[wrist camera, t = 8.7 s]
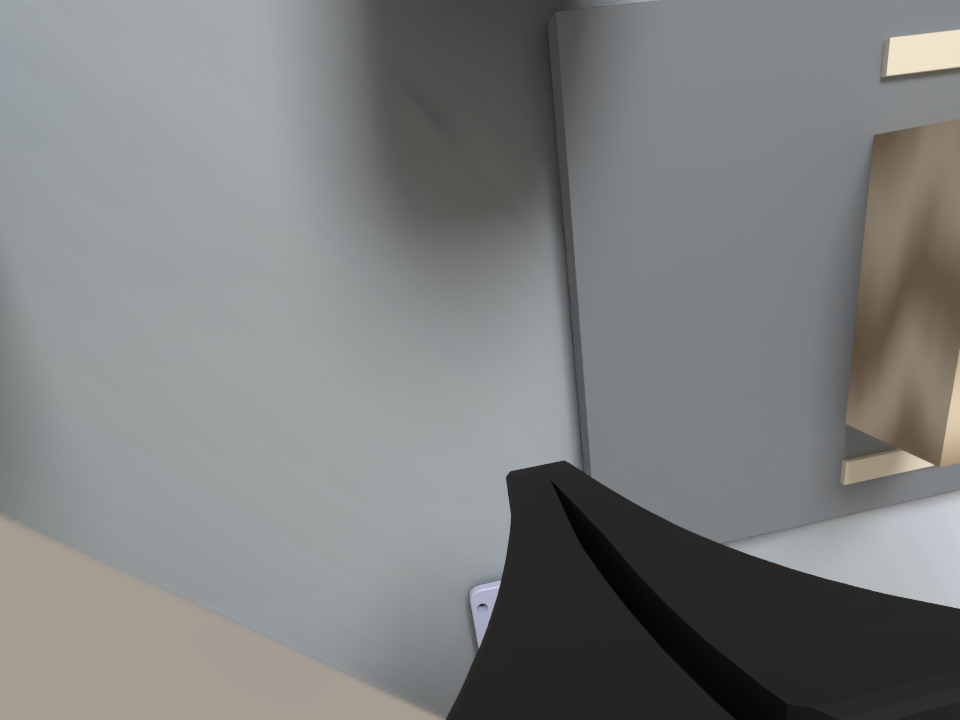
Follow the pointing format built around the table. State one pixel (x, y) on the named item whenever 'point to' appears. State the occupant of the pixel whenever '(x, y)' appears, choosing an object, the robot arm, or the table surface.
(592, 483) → the robot arm
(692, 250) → the board
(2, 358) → the table surface
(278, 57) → the table surface
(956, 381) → the t block
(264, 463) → the table surface
